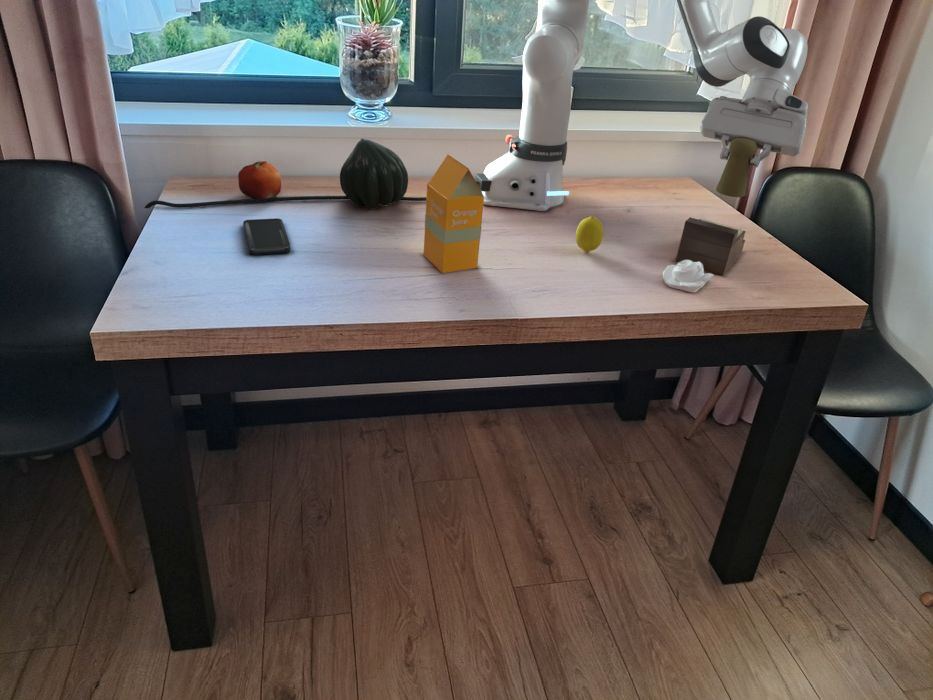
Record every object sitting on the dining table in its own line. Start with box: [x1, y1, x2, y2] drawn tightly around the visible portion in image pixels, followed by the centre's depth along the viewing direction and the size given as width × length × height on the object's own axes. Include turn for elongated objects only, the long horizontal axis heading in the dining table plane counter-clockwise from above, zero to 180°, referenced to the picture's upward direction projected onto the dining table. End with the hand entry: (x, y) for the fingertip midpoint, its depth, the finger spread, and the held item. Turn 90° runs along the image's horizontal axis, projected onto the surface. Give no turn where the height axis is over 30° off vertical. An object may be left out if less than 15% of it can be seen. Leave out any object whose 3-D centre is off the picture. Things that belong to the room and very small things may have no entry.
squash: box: [339, 138, 409, 210], centre depth 166 cm, size 14×15×15 cm
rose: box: [662, 260, 714, 293], centre depth 144 cm, size 10×4×10 cm
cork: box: [715, 138, 757, 198], centre depth 151 cm, size 6×6×11 cm
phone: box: [242, 218, 291, 256], centre depth 147 cm, size 8×1×15 cm
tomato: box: [237, 160, 282, 199], centre depth 164 cm, size 9×9×8 cm
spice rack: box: [675, 216, 746, 276], centre depth 155 cm, size 15×10×9 cm, turn 148°
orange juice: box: [423, 153, 485, 274], centre depth 140 cm, size 8×9×20 cm
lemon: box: [575, 215, 604, 254], centre depth 152 cm, size 6×6×8 cm
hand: (738, 161), depth 150 cm, fingers closed on cork, 5 cm apart
